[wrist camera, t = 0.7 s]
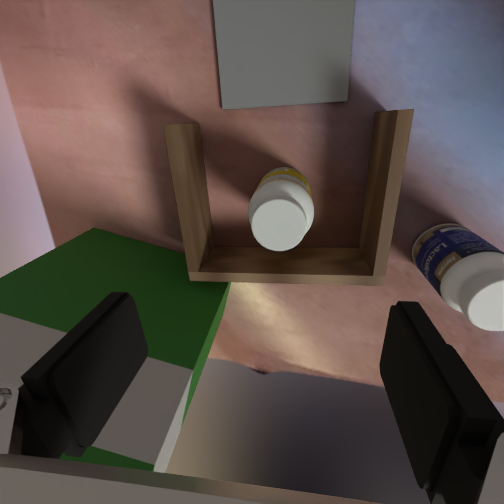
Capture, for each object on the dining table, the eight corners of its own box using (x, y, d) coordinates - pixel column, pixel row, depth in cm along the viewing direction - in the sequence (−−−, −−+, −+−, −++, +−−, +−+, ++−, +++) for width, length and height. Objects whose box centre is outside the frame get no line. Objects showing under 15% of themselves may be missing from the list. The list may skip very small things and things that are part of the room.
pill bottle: (413, 224, 28) (468, 273, 19) (477, 219, 27) (567, 269, 18) (407, 273, 30) (454, 338, 21) (466, 271, 29) (541, 337, 20)
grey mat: (358, -57, 20) (360, -61, 19) (346, 101, 24) (347, 101, 24) (210, -35, 21) (209, -38, 21) (223, 109, 26) (222, 109, 25)
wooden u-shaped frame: (387, 111, 24) (414, 109, 19) (367, 256, 30) (383, 286, 25) (189, 123, 27) (162, 124, 21) (207, 254, 33) (189, 280, 27)
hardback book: (94, 278, 37) (-189, 502, 15) (93, 227, 33) (-272, 423, 12) (222, 315, 36) (118, 598, 15) (234, 268, 33) (122, 545, 12)
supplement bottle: (273, 156, 27) (264, 173, 18) (321, 183, 27) (333, 212, 19) (248, 203, 29) (229, 237, 21) (292, 227, 30) (291, 271, 21)
